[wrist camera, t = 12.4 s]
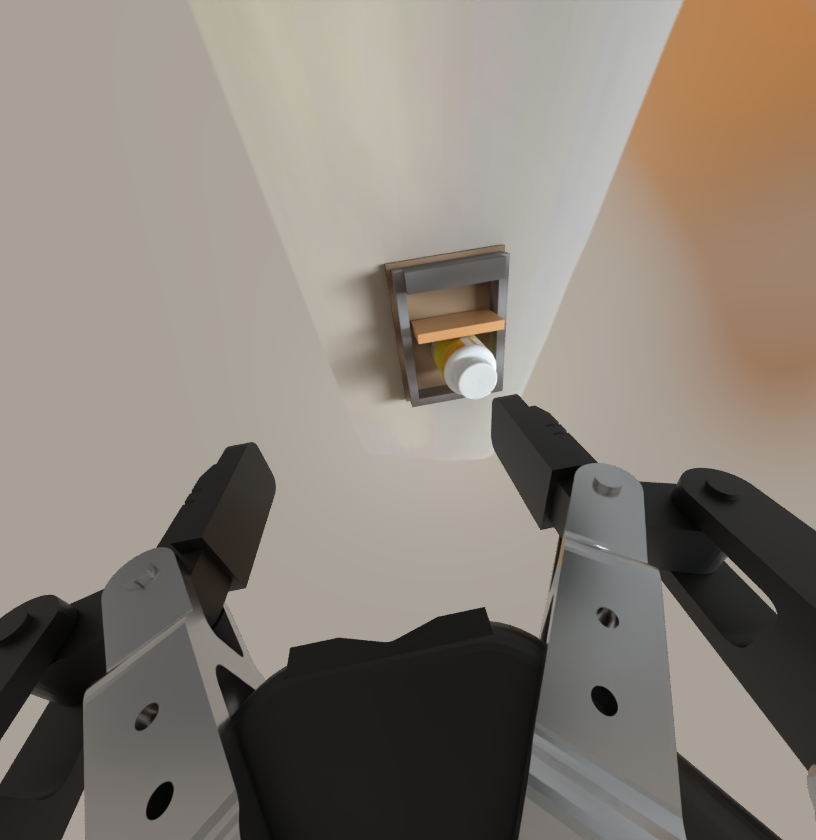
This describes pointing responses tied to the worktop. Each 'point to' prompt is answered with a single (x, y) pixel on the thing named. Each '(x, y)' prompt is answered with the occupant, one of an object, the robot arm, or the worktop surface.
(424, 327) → the board
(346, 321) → the worktop surface
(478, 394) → the supplement bottle
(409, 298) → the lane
